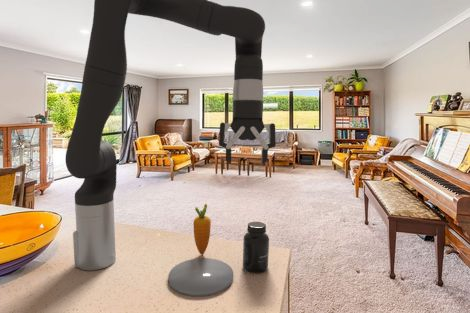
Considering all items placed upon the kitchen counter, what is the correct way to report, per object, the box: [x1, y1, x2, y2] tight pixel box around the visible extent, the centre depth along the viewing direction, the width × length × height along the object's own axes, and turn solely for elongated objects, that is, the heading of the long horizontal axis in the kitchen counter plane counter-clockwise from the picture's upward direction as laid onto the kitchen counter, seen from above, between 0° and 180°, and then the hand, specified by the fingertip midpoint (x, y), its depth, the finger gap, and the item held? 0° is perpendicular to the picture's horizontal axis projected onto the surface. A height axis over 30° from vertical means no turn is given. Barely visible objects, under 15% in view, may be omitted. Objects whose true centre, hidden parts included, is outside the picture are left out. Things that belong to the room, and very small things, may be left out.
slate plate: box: [168, 257, 234, 297], centre depth 72 cm, size 16×16×1 cm
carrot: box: [193, 203, 212, 256], centre depth 83 cm, size 5×5×15 cm
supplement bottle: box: [242, 221, 270, 274], centre depth 76 cm, size 7×7×12 cm
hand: (246, 163), depth 74 cm, fingers open, 8 cm apart
